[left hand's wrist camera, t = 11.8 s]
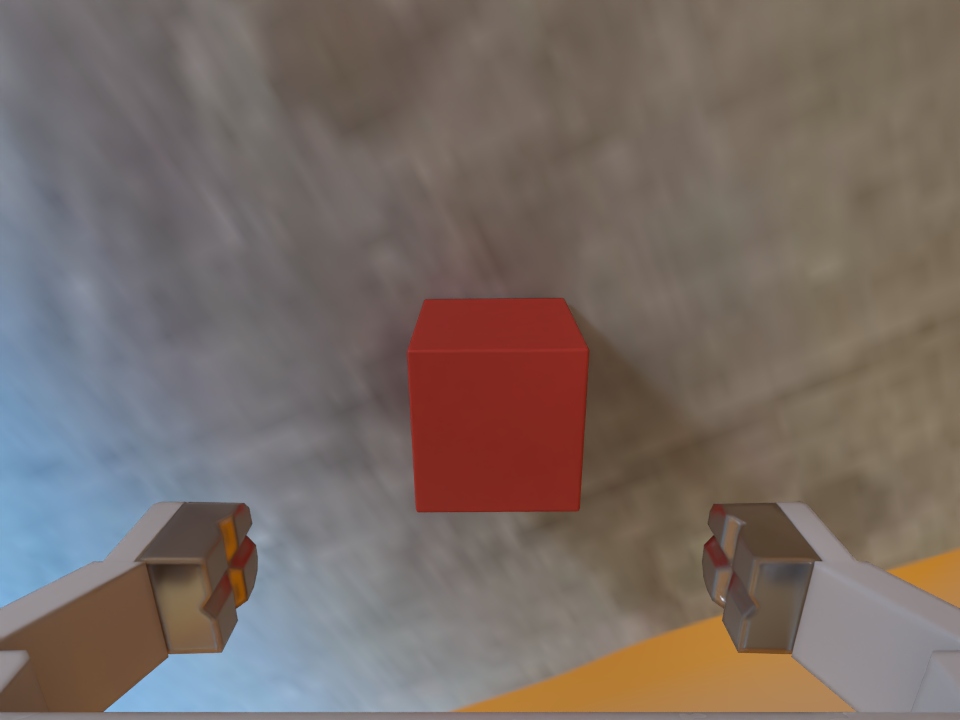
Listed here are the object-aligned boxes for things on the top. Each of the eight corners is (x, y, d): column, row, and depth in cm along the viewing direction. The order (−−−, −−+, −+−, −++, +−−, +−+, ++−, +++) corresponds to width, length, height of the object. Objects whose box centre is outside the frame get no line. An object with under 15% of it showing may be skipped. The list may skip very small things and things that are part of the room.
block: (558, 430, 20) (580, 512, 16) (429, 431, 20) (415, 513, 16) (564, 297, 19) (589, 348, 14) (423, 298, 19) (406, 349, 14)
